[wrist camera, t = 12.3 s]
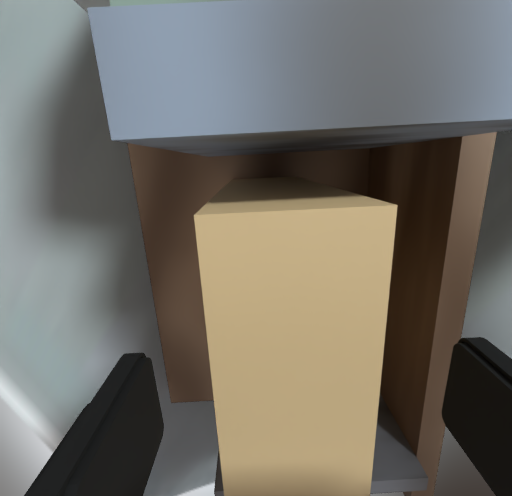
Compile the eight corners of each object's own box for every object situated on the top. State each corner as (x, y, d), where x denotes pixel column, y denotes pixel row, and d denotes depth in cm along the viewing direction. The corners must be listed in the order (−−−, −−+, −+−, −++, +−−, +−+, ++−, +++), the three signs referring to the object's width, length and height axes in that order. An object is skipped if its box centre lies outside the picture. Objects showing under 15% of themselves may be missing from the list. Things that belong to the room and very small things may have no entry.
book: (294, 176, 18) (397, 205, 6) (296, 340, 22) (361, 585, 9) (231, 179, 18) (193, 215, 6) (242, 343, 21) (235, 593, 9)
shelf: (382, 90, 18) (817, -150, 4) (363, 377, 24) (515, 659, 11) (129, 103, 18) (-271, -102, 4) (175, 388, 24) (78, 690, 10)
